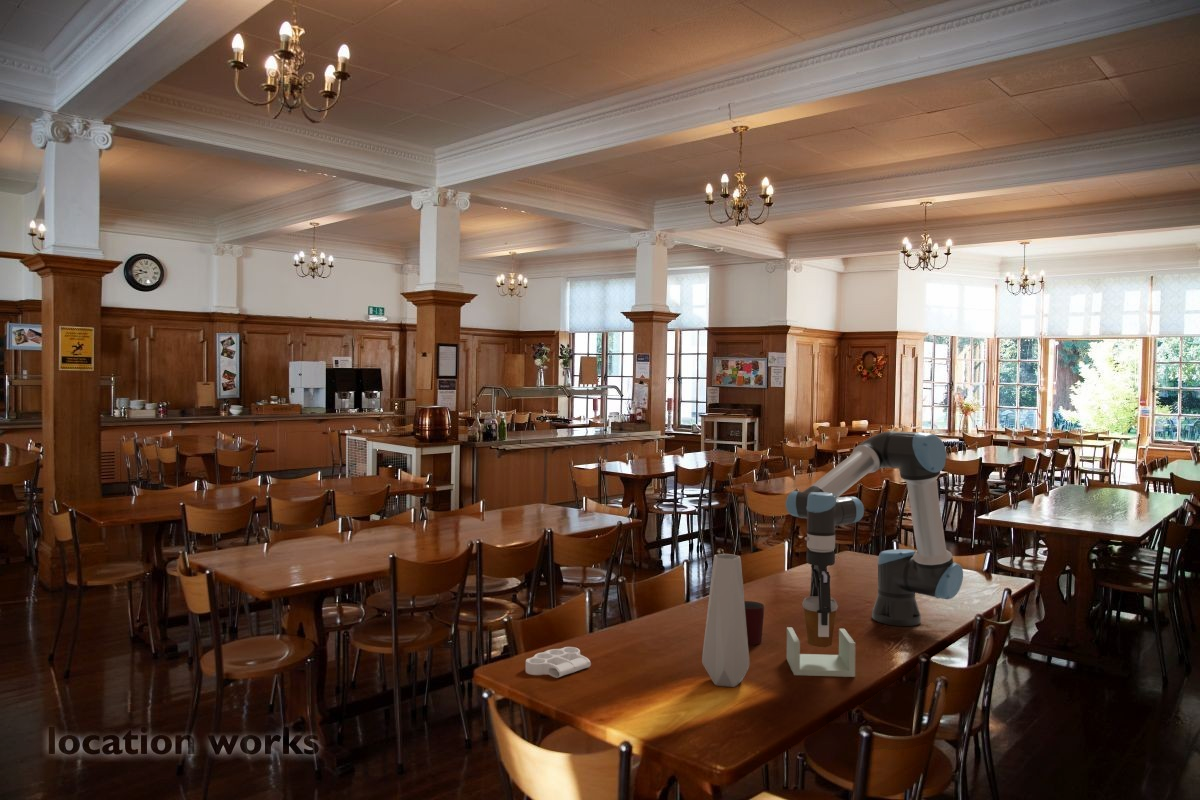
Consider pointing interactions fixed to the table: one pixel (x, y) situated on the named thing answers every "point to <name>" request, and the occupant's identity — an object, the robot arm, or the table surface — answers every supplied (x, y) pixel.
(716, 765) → the table surface
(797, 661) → the holder
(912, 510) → the robot arm
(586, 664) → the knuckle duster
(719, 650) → the vase
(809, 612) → the disposable coffee cup
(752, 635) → the mug
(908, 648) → the table surface
